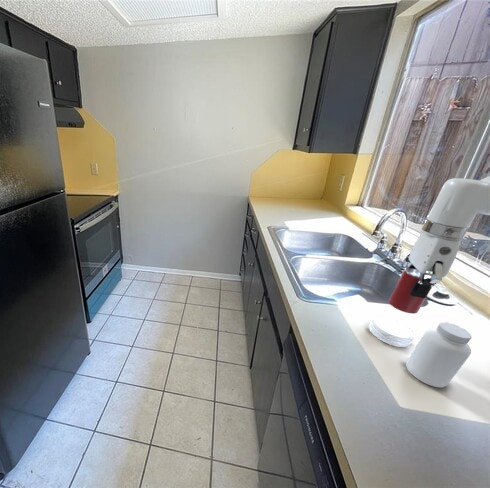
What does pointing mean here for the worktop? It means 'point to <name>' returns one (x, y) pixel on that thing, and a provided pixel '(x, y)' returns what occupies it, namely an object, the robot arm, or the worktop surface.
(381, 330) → the coaster
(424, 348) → the pill bottle
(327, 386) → the worktop surface
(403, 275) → the can
